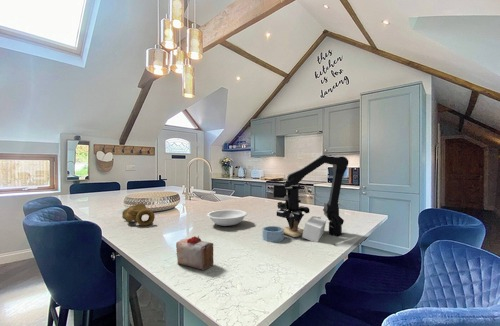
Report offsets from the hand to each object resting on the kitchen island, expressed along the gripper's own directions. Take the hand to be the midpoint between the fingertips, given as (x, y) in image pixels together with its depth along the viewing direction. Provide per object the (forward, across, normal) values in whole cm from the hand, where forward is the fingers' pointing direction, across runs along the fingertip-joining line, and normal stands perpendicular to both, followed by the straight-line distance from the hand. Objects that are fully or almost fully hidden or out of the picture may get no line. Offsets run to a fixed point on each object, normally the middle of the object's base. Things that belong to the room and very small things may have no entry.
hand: (293, 228), depth 115 cm
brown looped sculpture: (+3, +61, -75) cm, 96 cm away
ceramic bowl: (+3, +14, 0) cm, 14 cm away
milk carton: (-1, +3, +14) cm, 14 cm away
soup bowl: (+3, +18, -36) cm, 41 cm away
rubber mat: (+3, 0, 0) cm, 3 cm away
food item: (+3, +54, +3) cm, 54 cm away
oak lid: (+2, 0, 0) cm, 2 cm away
